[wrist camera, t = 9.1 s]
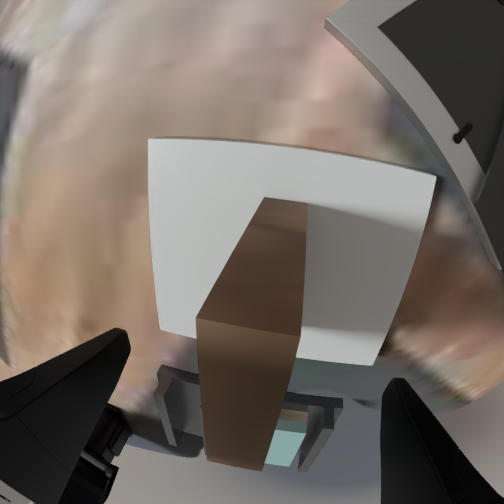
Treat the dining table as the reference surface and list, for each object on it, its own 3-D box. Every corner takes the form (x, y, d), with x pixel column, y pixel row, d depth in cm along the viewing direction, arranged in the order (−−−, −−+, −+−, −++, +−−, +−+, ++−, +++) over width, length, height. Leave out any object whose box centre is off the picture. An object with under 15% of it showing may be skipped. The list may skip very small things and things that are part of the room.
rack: (173, 420, 26) (163, 442, 23) (161, 364, 22) (146, 391, 19) (315, 447, 24) (313, 472, 21) (342, 398, 20) (343, 429, 17)
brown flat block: (252, 317, 17) (207, 460, 9) (264, 196, 13) (195, 317, 5) (286, 323, 16) (261, 471, 8) (307, 202, 13) (300, 336, 5)
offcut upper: (226, 447, 23) (223, 455, 22) (227, 409, 20) (224, 420, 19) (290, 457, 22) (289, 466, 21) (307, 422, 19) (306, 433, 18)
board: (166, 320, 19) (160, 329, 18) (157, 137, 14) (148, 138, 13) (370, 354, 18) (372, 365, 17) (428, 172, 12) (436, 176, 11)
